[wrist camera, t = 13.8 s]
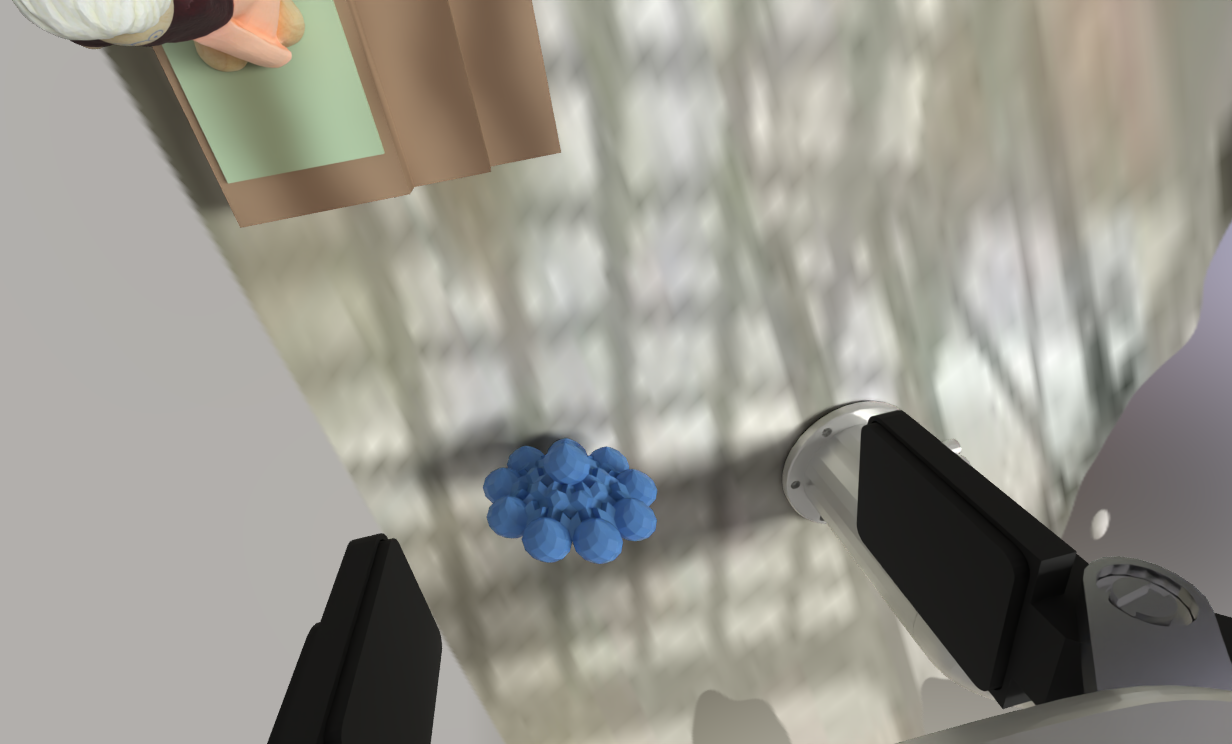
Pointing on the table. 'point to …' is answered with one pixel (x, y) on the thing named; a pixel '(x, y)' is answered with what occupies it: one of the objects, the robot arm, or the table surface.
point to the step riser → (370, 104)
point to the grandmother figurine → (178, 26)
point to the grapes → (570, 501)
